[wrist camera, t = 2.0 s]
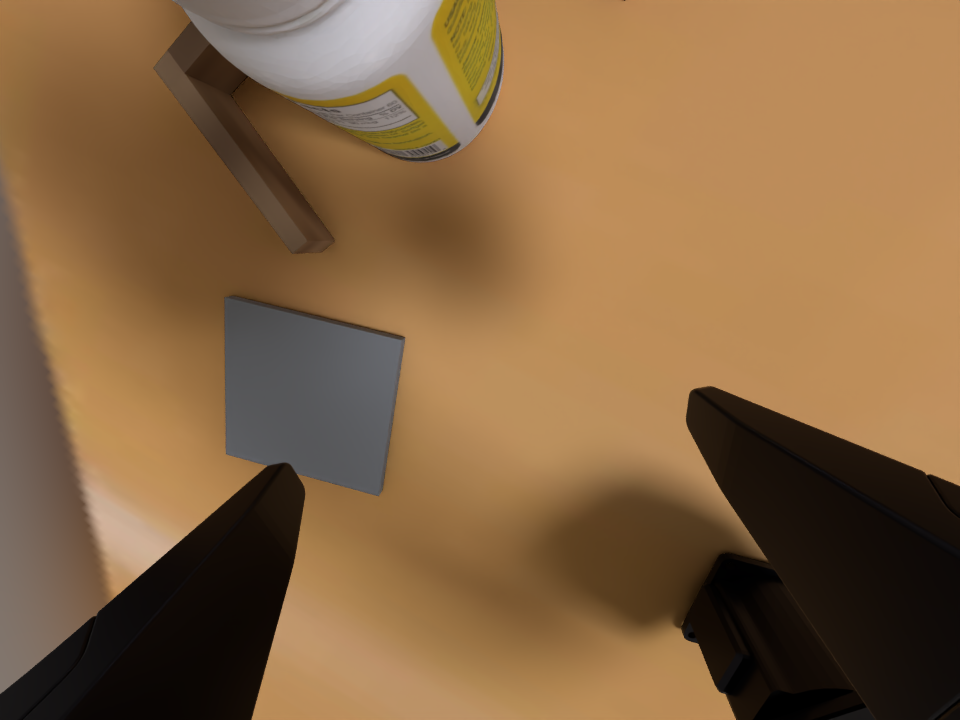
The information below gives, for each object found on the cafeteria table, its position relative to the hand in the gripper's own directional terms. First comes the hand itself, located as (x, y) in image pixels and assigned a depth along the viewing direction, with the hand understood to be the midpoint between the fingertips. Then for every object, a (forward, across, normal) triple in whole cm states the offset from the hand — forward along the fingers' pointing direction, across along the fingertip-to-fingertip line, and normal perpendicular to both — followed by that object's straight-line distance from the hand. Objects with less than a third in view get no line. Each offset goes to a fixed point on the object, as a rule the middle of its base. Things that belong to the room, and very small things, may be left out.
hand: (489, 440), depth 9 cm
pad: (+12, +10, +6) cm, 17 cm away
